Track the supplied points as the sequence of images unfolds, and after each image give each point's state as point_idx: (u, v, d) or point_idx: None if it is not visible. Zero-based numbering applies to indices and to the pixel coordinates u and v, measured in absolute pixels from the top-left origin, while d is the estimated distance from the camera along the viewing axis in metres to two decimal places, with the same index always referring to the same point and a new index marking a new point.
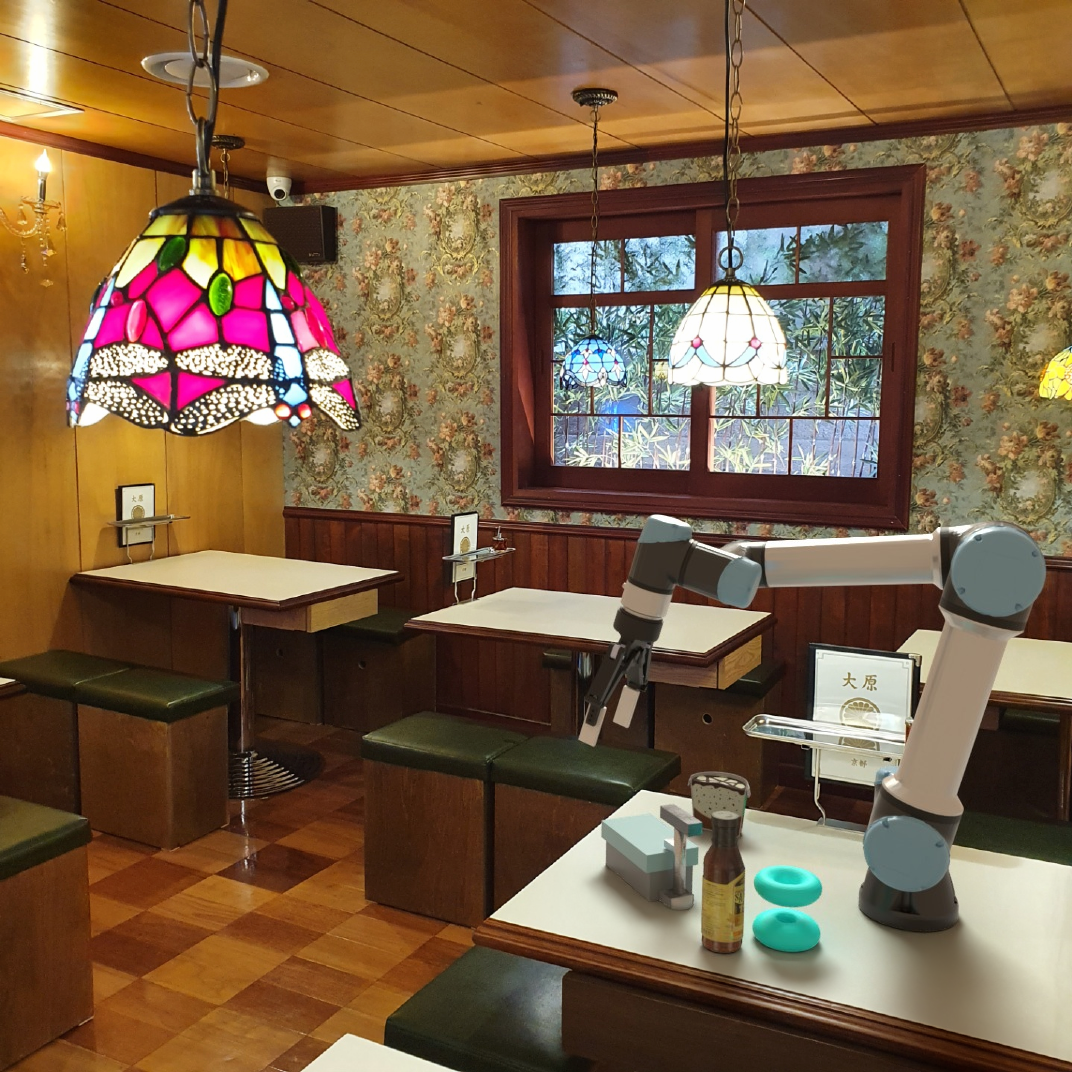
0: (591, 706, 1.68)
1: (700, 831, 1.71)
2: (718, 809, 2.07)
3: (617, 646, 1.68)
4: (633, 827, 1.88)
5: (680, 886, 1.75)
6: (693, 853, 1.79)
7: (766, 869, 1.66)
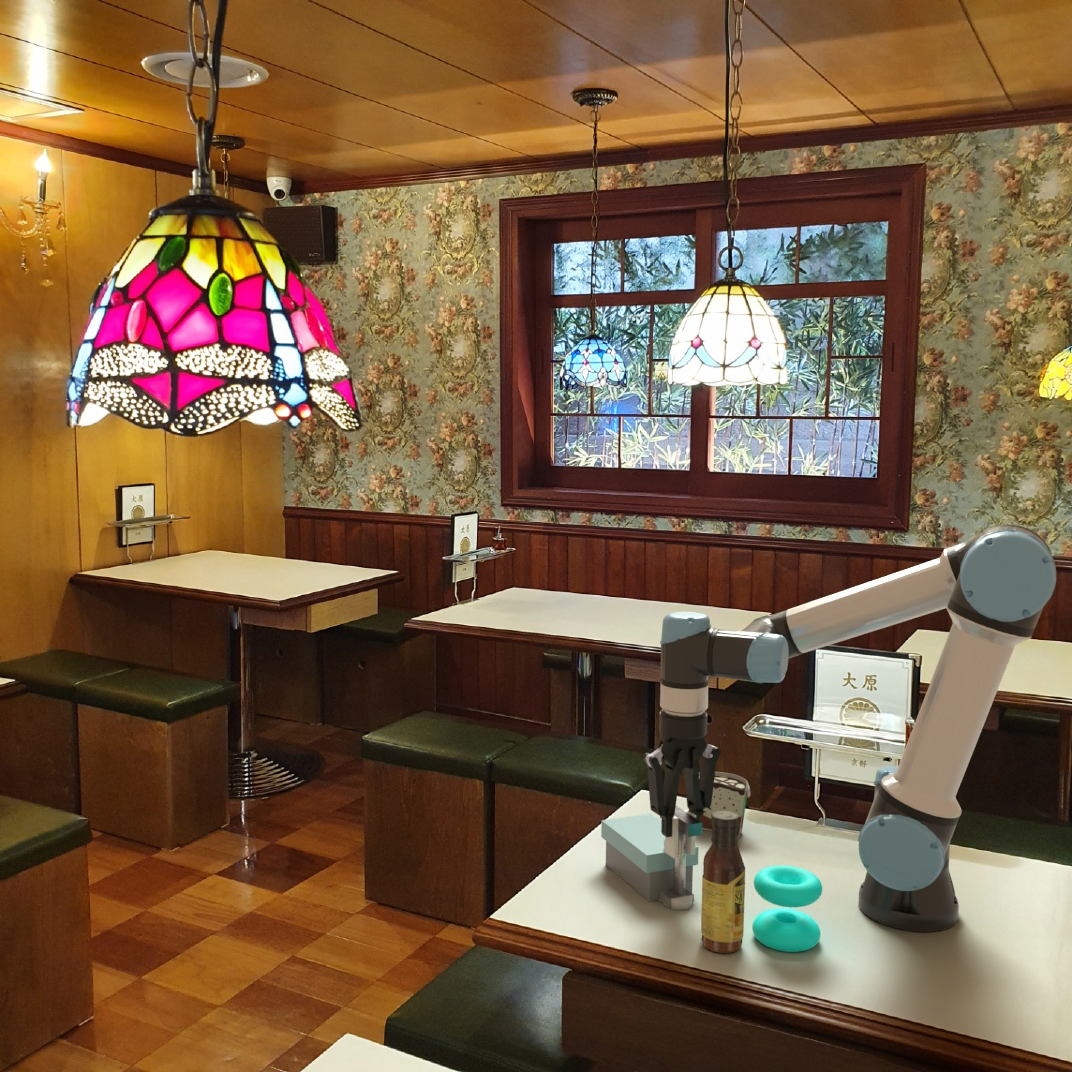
0: (662, 816, 1.73)
1: (700, 831, 1.71)
2: (718, 809, 2.07)
3: (647, 757, 1.71)
4: (633, 827, 1.88)
5: (680, 886, 1.75)
6: None
7: (766, 869, 1.66)
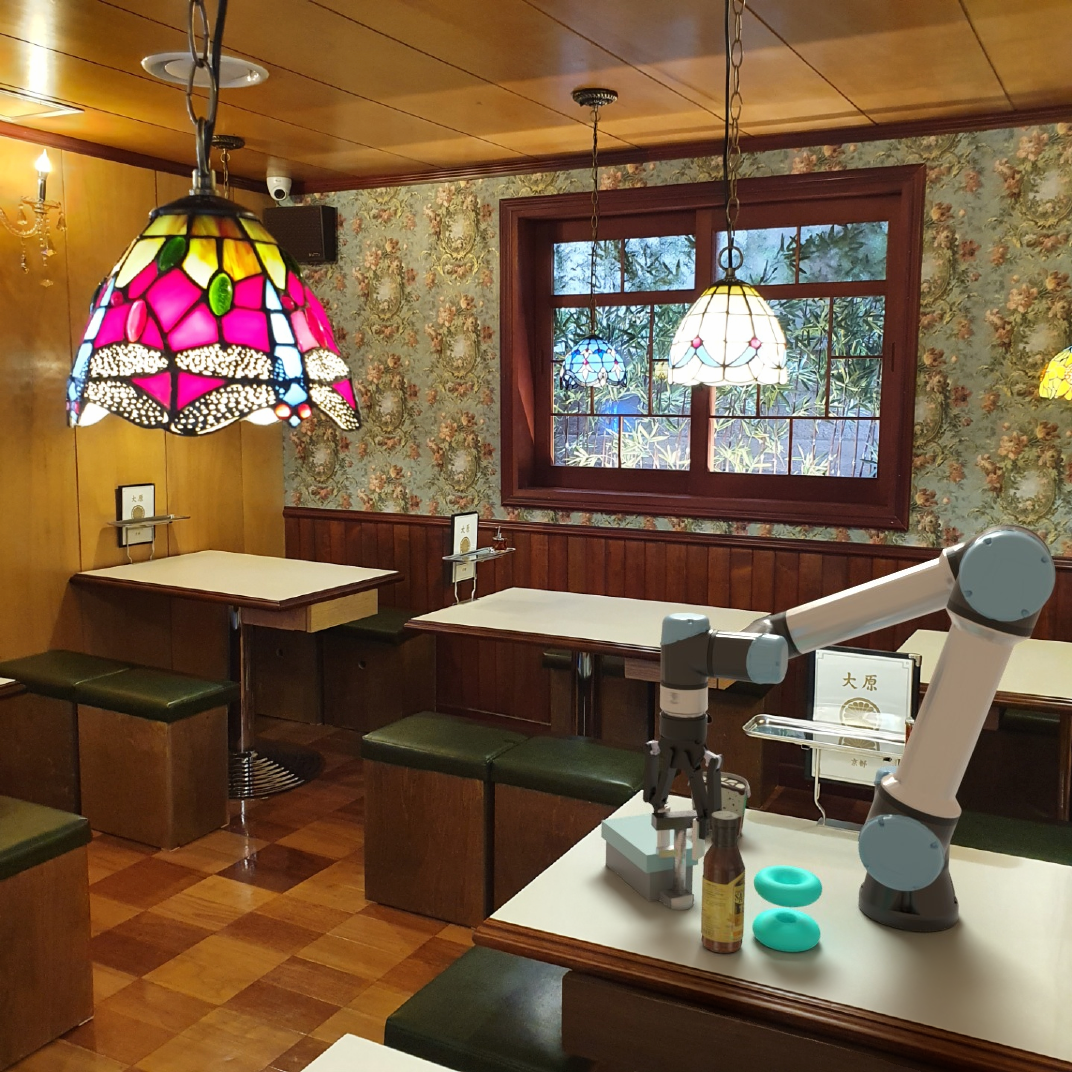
0: (706, 821, 1.71)
1: None
2: None
3: (719, 758, 1.69)
4: (633, 827, 1.88)
5: None
6: None
7: (766, 869, 1.66)
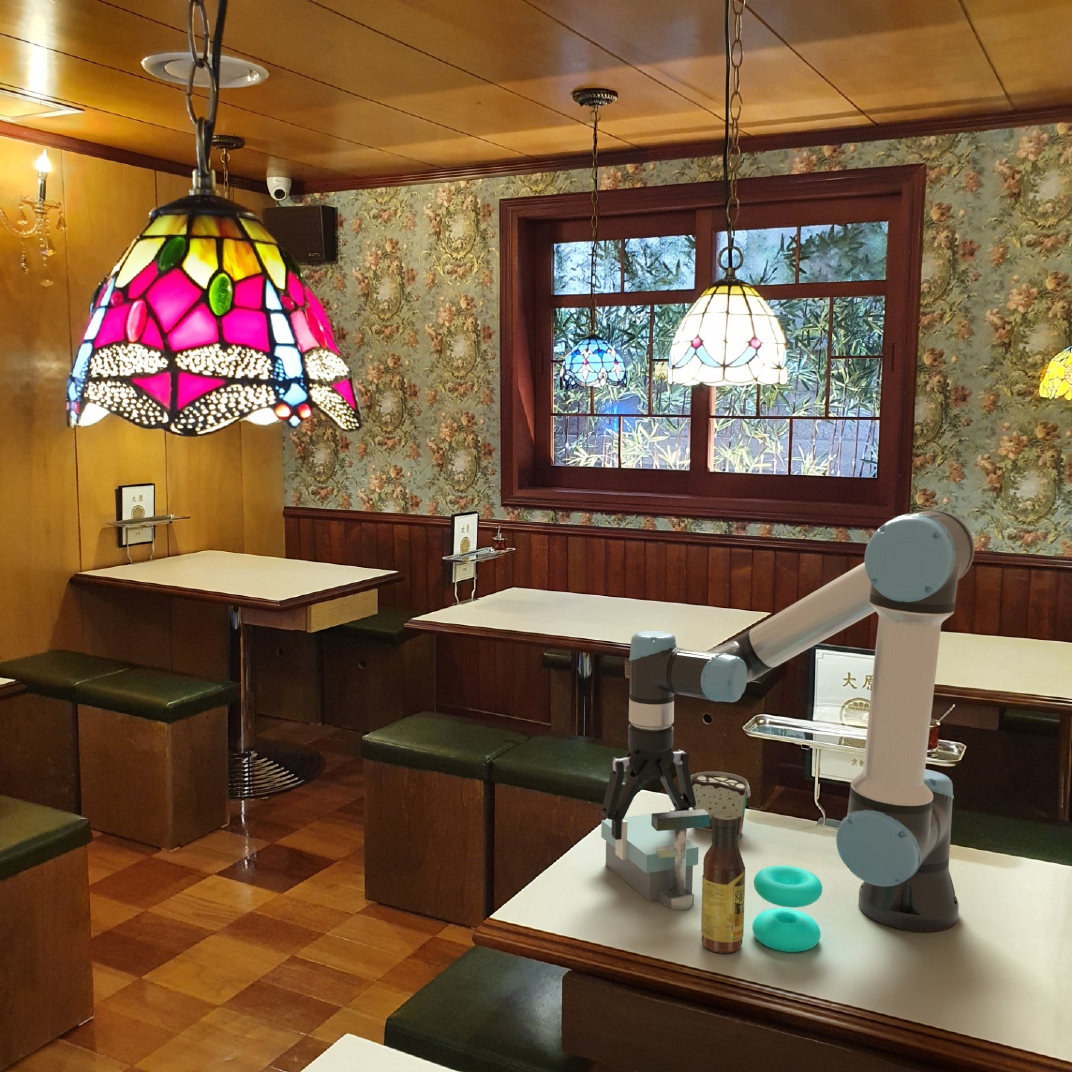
0: (612, 820, 1.82)
1: None
2: (718, 809, 2.07)
3: (615, 760, 1.81)
4: (633, 827, 1.88)
5: None
6: (693, 853, 1.79)
7: (766, 869, 1.66)
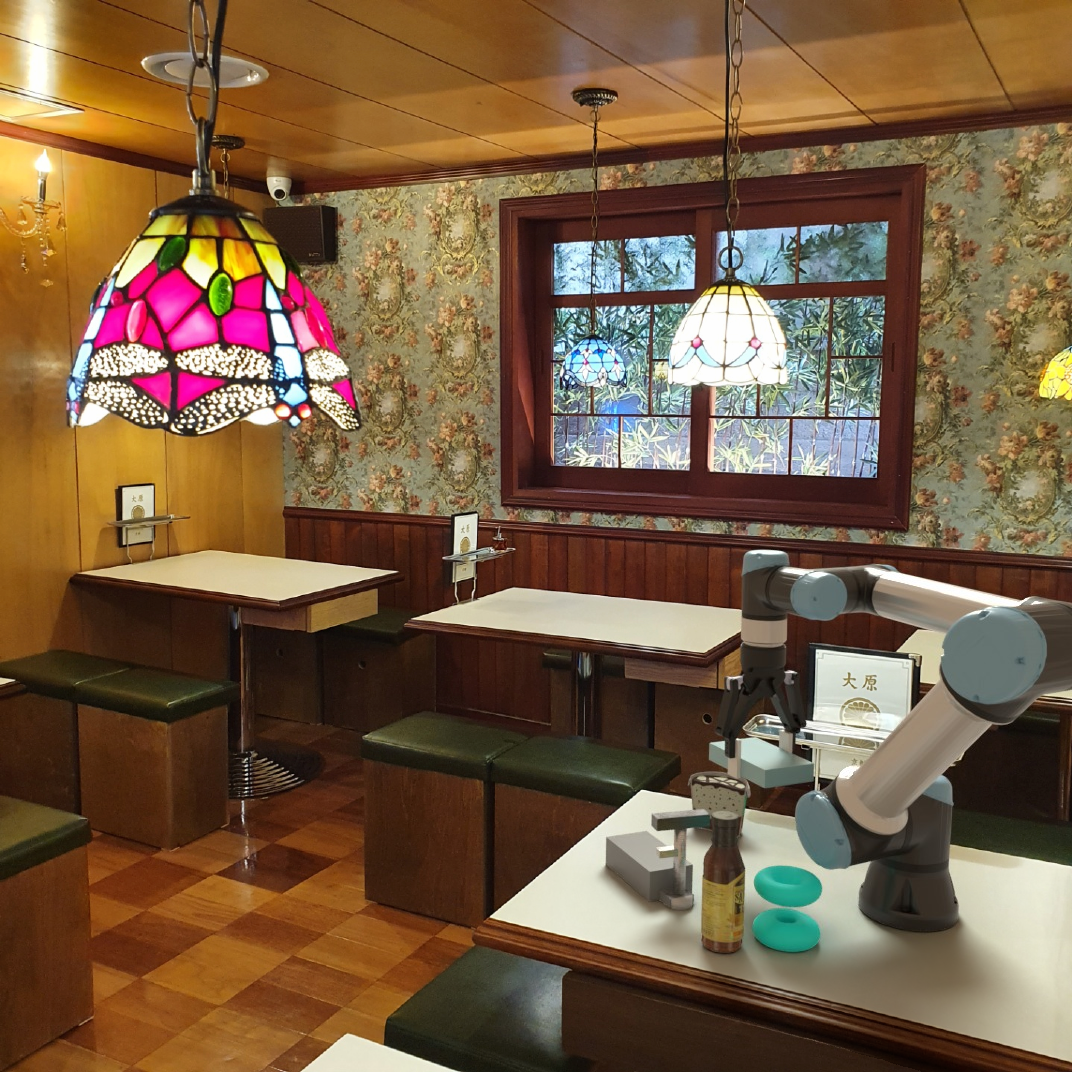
0: (725, 739, 1.82)
1: None
2: (718, 809, 2.07)
3: (729, 678, 1.81)
4: (742, 748, 1.87)
5: None
6: (809, 769, 1.79)
7: (766, 869, 1.66)
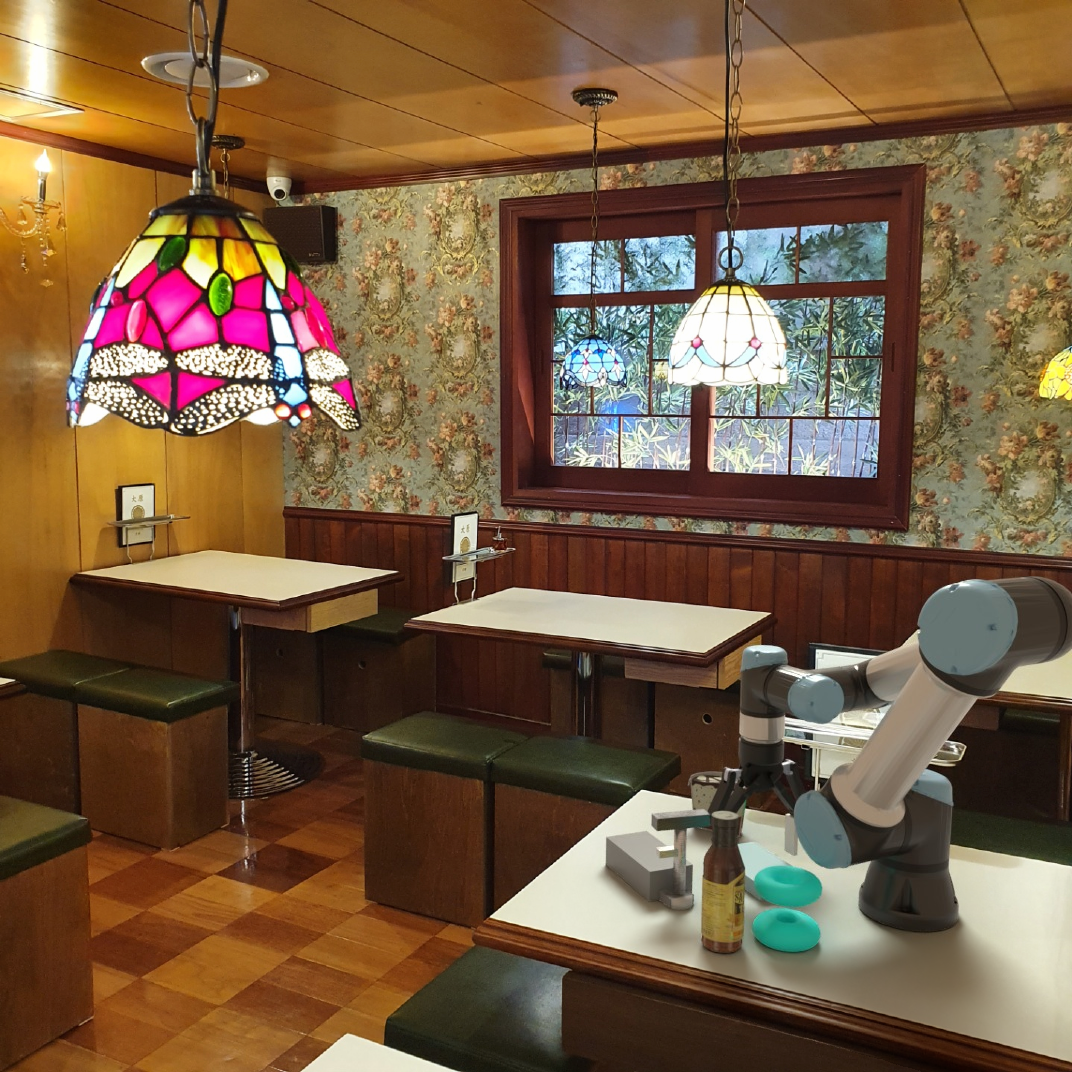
0: None
1: None
2: None
3: (728, 770, 1.82)
4: None
5: None
6: None
7: (766, 869, 1.66)
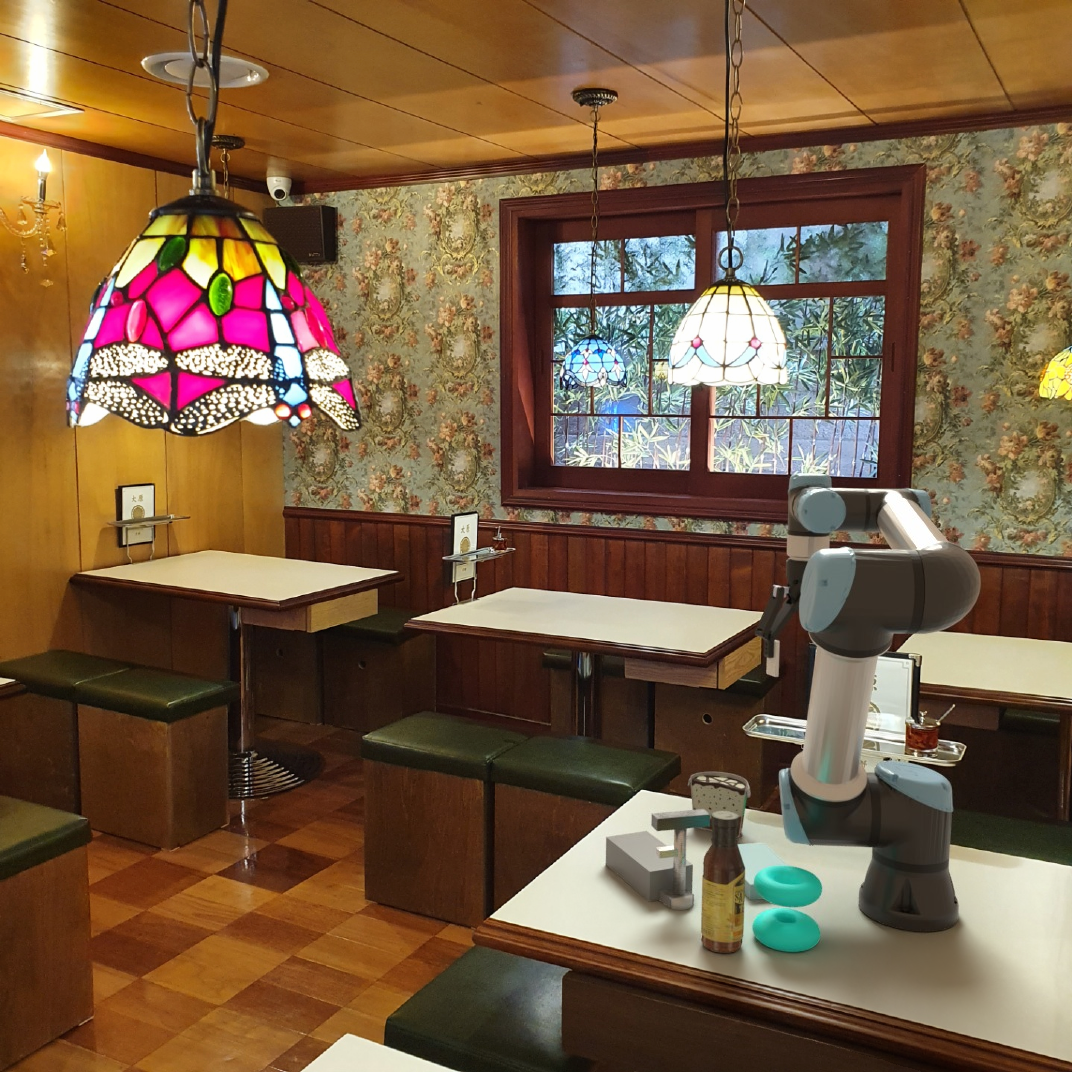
0: (764, 640, 1.98)
1: None
2: (718, 809, 2.07)
3: (776, 586, 1.97)
4: (743, 855, 1.90)
5: None
6: None
7: (766, 869, 1.66)
